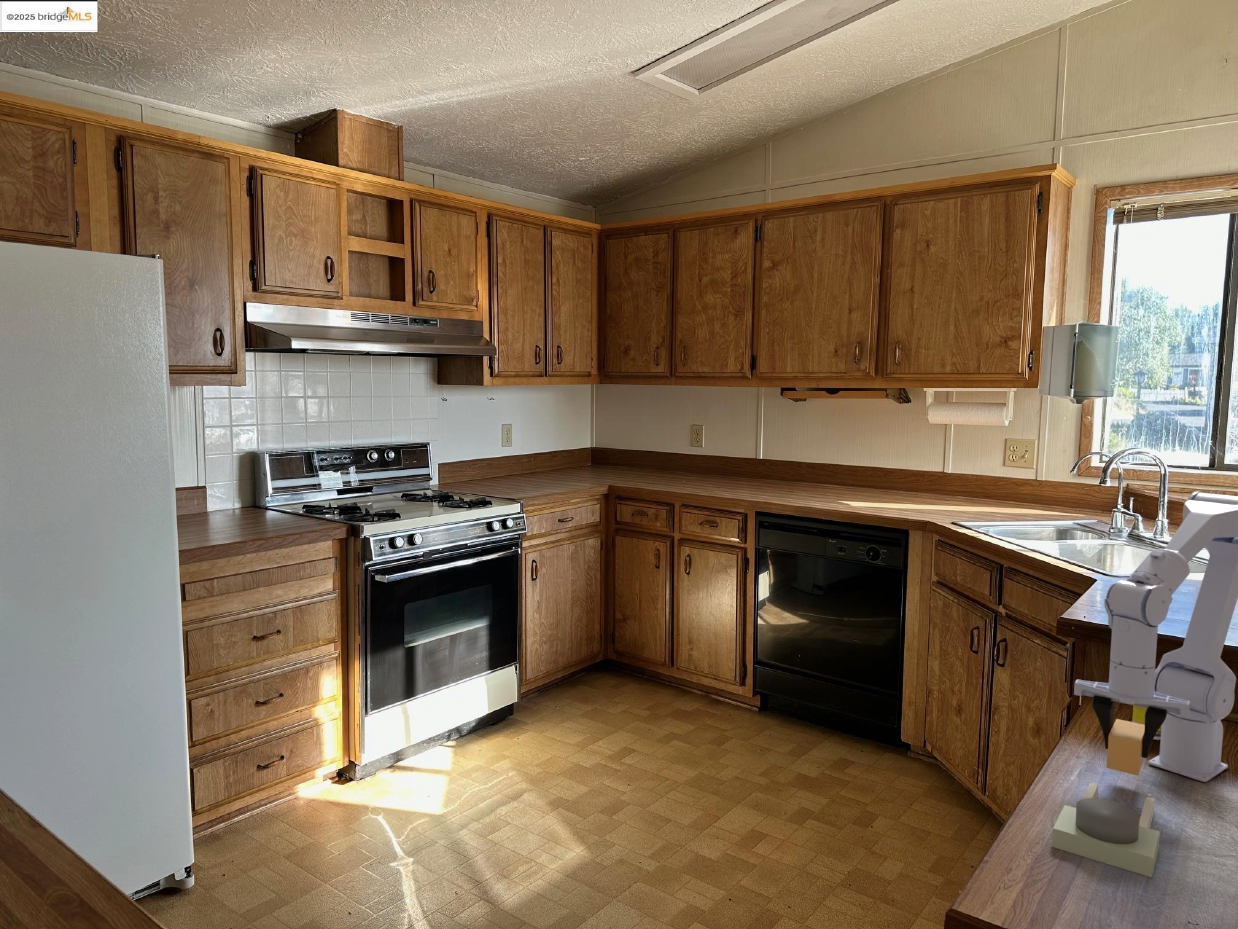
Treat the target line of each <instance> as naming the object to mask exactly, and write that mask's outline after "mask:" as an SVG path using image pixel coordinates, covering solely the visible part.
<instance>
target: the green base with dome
mask: <svg viewBox="0 0 1238 929" xmlns="http://www.w3.org/2000/svg"><path fill="white" fill-rule="evenodd" d="M1098 791H1099V784H1098V783H1097V782H1096V783H1095V782H1093V781H1092V782H1089V785H1088V787H1087V789H1086V791H1085V793H1084V796H1083V797H1082V799H1079V800H1077V802H1076V807H1073V806H1070V805H1066V804H1065V805H1063V807H1062V809H1061V811H1060V812H1059V813H1060V814H1059V815H1058V817H1057V820H1056V822H1055V823H1054V825H1053V827H1052V839H1051V847H1052V848H1055V849H1057V850H1061V851H1064V852H1068V853H1071V854H1074V855H1077V856H1081V857H1084V858H1088V859H1091V860H1094V861H1097V862H1101V863H1104V864H1107V865H1109V866H1114V867H1117V868H1120V869H1122V870H1123V869H1124V870H1126V871H1130V872H1132V873H1135V874H1138V875H1143V876H1145V877H1150V878H1153V874H1154V871H1155V867H1156V862H1157V857H1158V854H1159V850H1160V849H1159V848H1160V845H1159V844H1160V836H1161V833H1160V832H1161V831H1159V830H1156V829H1153V828H1151V825H1152V821H1153V818H1154V814H1155V804H1156V799H1155V798H1153V797H1150V796H1146V797H1145V801H1144V804H1143V808H1142V811H1141V814H1140V816H1139V814H1137V813H1138V812H1136V811H1134V810H1133V809H1131V808H1130V807H1128V806H1126V805H1124V804H1121V803H1120V802H1116V801H1113V800H1109V799H1105V798H1104V799H1102V798H1098V795H1099V794H1098V793H1099V792H1098Z"/></svg>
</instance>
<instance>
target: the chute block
mask: <svg viewBox="0 0 1238 929" xmlns="http://www.w3.org/2000/svg"><path fill="white" fill-rule="evenodd" d="M1144 730H1145V725H1143V724H1138V723H1134V722H1132V721H1130V720H1129V721H1128V720H1123V719H1119V718H1116V719H1115V721H1114V722H1113V727H1112V729H1111V731H1110V733H1109V739H1108V749H1107V756H1106V758H1107V759H1106V769H1110V770H1114V771H1117V772H1123V773H1126V774H1130V775H1134V776H1140V773H1141V769H1142V767H1143V764H1144V761H1145V758H1143V757H1142V747H1143V741H1144Z"/></svg>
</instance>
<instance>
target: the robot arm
mask: <svg viewBox="0 0 1238 929" xmlns="http://www.w3.org/2000/svg"><path fill="white" fill-rule="evenodd" d="M1203 549H1206V550H1207V552H1208V554H1209V558H1208V561H1207V565H1206V568H1205V570H1204V575H1203V578H1202V581H1201V584H1200V588H1199V591H1198V595H1197V597H1196V601H1195V604H1194V608H1193V611H1192V614H1191V618H1190V621H1189V624H1188V627H1187V629H1186V630H1187V631H1186V634H1185V637H1184V641H1183V643H1182V644H1183V645H1182V646H1181V647H1179V648H1177V649H1174V650H1171V651H1169V652H1167V653H1164V654H1162V657H1161V659H1160V662H1159V664H1158V665H1157V668H1156V661H1157V660H1156V658H1157V644H1158V632H1159V631H1158V629H1159V625H1161V624H1162V623H1163V622H1164V621H1165V620H1166V618H1167V616H1168V613H1169V609H1170V605H1171V604H1172V602H1173V594H1174V593H1175V592H1176V591H1177V590H1178V589H1179V587H1180V586H1181V585H1182V584H1183V583H1184V581H1185V580H1186V579H1187V578H1188V577H1189V575H1190V570H1191V568H1190V566H1189V562H1191V560H1192V559H1194V558H1195V557H1196V556H1197V555H1198V554H1199V553H1200V552H1201V551H1202V550H1203ZM1103 602H1104V603H1103V605H1104V608H1105V612H1106V614H1107V617H1108V620H1107V621H1108V622H1107V624H1108V627H1109V628H1110V629H1111V641H1110V657H1109V660H1110V661H1109V673H1108V674H1109V675H1108V682H1101V681H1100V682H1099V681H1090V680H1082V679H1079V678H1078V679H1076V680H1075V681H1074V686H1073V687H1074V689H1073V690H1074V691H1073V695H1075V696H1080V697H1082V696H1087V697H1090V698H1093V700H1092V703H1091V704H1092V709H1093V711H1094V713H1095V715H1096V717H1097V720H1098V722H1099V724H1100V728H1101V730H1102V735H1103V738H1104V740H1103V741H1104V746H1105V749H1106V750H1108V739H1109V733H1110V731H1111V729H1112V727H1113V725H1114V716H1115V715H1114V713H1115V704H1116V702H1117V703H1121V704H1125V705H1126V704H1127V705H1130V706H1133V705H1135V706H1140V707H1145V708H1147V710H1146V713H1145V730H1144V741H1143V747H1142V757H1143V758H1144V759H1148V757H1149V754H1150V748H1151V745H1152V742H1153V738H1154V736H1155V735H1156V733H1157V731H1158V730H1159V728H1160V727H1161V725H1162V727H1161V740H1159V741H1160V744H1159V755H1157V756H1155V757H1153V758H1152V759H1150V760H1148V764H1149V765H1151V766H1154V767H1157V768H1160V769H1163V770H1166V771H1169V772H1172V773H1175V774H1179V775H1181V776H1185V777H1188V778H1190V779H1193V780H1197V781H1199V782H1205V783H1206V782H1208V781H1209V780H1211V779H1212V778H1214V777H1216V776H1217V775H1219V774H1220V773H1222V772H1223V771H1225V770H1226V769H1227V768H1228V767H1229V765H1228V764H1227V763H1223V762H1222V750H1223V735H1224V726H1223V723H1222V721H1221V720H1223V719H1225V718H1226V717H1227V716H1229V715H1230V714H1231V712H1232V710H1233V707H1234V703H1235V688H1236V683H1237V677H1236V675H1235V673H1234V672H1233V671H1232V669H1231V668H1229V666H1228V664H1226V663H1225V661H1223V660H1222V658H1221V656H1222V653H1223V650H1224V649H1223V648H1224V645H1225V642H1226V638H1227V637H1228V636H1227V635H1228V634H1229V633H1228V632H1229V628H1230V625H1231V622H1232V619H1233V615H1234V613H1235V609H1236V605H1237V602H1238V495H1237V496H1236V495H1227V494H1221V493H1220V494H1219V493H1218V494H1217V493H1208V492H1203V491H1194V492H1192V493H1191V494H1190V495H1189V497H1187V499H1186V501H1185V502H1184V503H1183V509H1182V523H1181V524H1180V525H1179V527H1178V529H1177V530H1176V531H1175V533H1174V534H1173V535H1172V537H1171V539H1170V540H1169V541H1168V543H1167V545H1166V546H1165V547H1164V548H1157V549H1153V550H1152V551H1150V552H1149V554H1148V555H1147V556H1146V557H1145V558H1144V560H1143V561H1142V562H1141V563H1140V564H1139V565H1138V566H1137V567H1136V569H1135V570H1134V571H1133V572H1132V573H1131V574H1130V576H1128V577H1127V579H1126V580H1125V579H1122V580H1121V579H1120V580H1119V581H1117V582H1113V584H1111V585H1110V586H1109V588H1108V590H1107V592H1106V595H1105V598H1104V600H1103ZM1205 674H1206V675H1205Z"/></svg>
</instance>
